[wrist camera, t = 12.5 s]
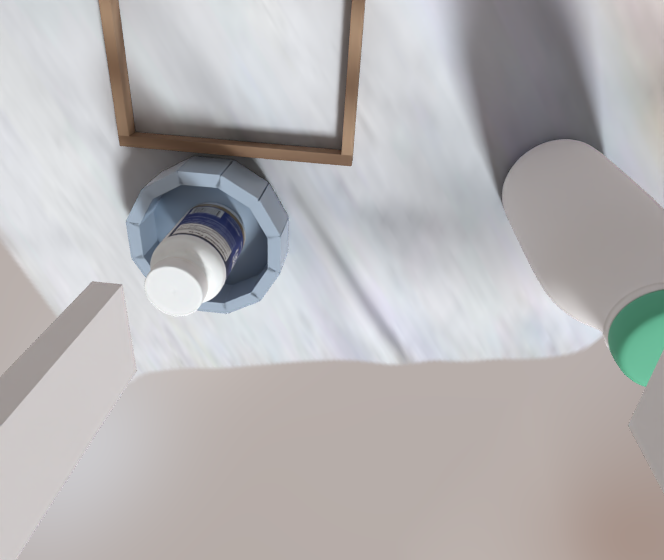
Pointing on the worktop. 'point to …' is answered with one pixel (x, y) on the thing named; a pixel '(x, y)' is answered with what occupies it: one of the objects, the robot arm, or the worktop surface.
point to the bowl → (231, 191)
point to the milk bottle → (593, 246)
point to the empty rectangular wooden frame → (218, 146)
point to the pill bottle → (194, 259)
